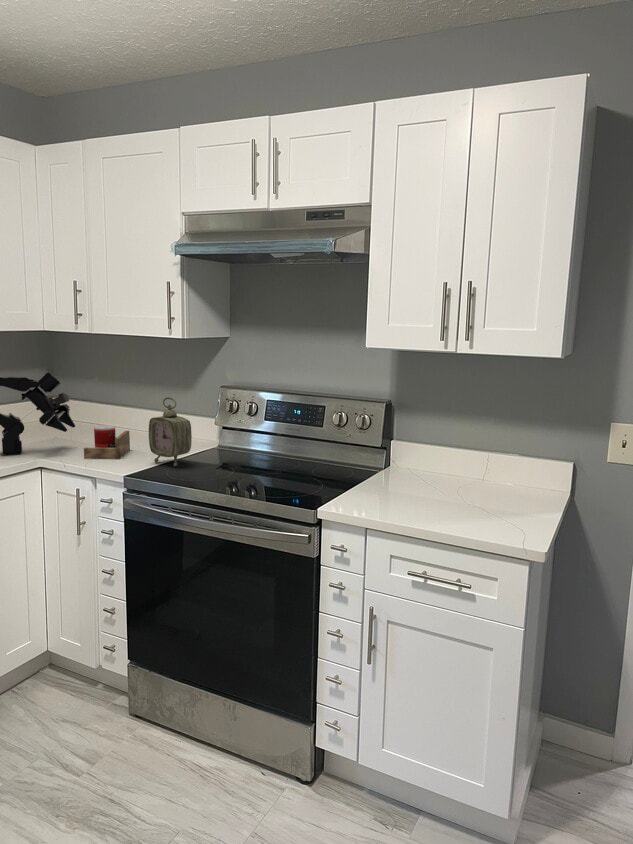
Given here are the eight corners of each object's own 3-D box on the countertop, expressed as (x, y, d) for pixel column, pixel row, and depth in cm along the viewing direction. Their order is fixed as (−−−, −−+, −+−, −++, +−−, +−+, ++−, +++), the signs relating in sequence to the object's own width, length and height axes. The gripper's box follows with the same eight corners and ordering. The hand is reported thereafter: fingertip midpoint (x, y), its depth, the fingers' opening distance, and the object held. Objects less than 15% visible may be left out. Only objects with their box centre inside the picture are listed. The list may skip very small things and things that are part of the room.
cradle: (84, 458, 245) (83, 438, 244) (96, 449, 261) (95, 430, 260) (119, 458, 246) (119, 438, 244) (129, 449, 262) (129, 430, 260)
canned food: (112, 456, 249) (111, 428, 248) (92, 456, 249) (91, 428, 248) (118, 452, 257) (117, 425, 255) (98, 451, 257) (97, 425, 255)
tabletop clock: (149, 462, 241) (147, 396, 236) (167, 458, 248) (166, 394, 244) (175, 468, 232) (174, 400, 228) (194, 464, 240) (193, 397, 235)
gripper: (46, 389, 243) (76, 419, 245) (63, 384, 261) (91, 411, 264) (26, 410, 244) (56, 438, 246) (45, 403, 262) (73, 430, 265)
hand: (70, 428), depth 255 cm, fingers open, 9 cm apart
